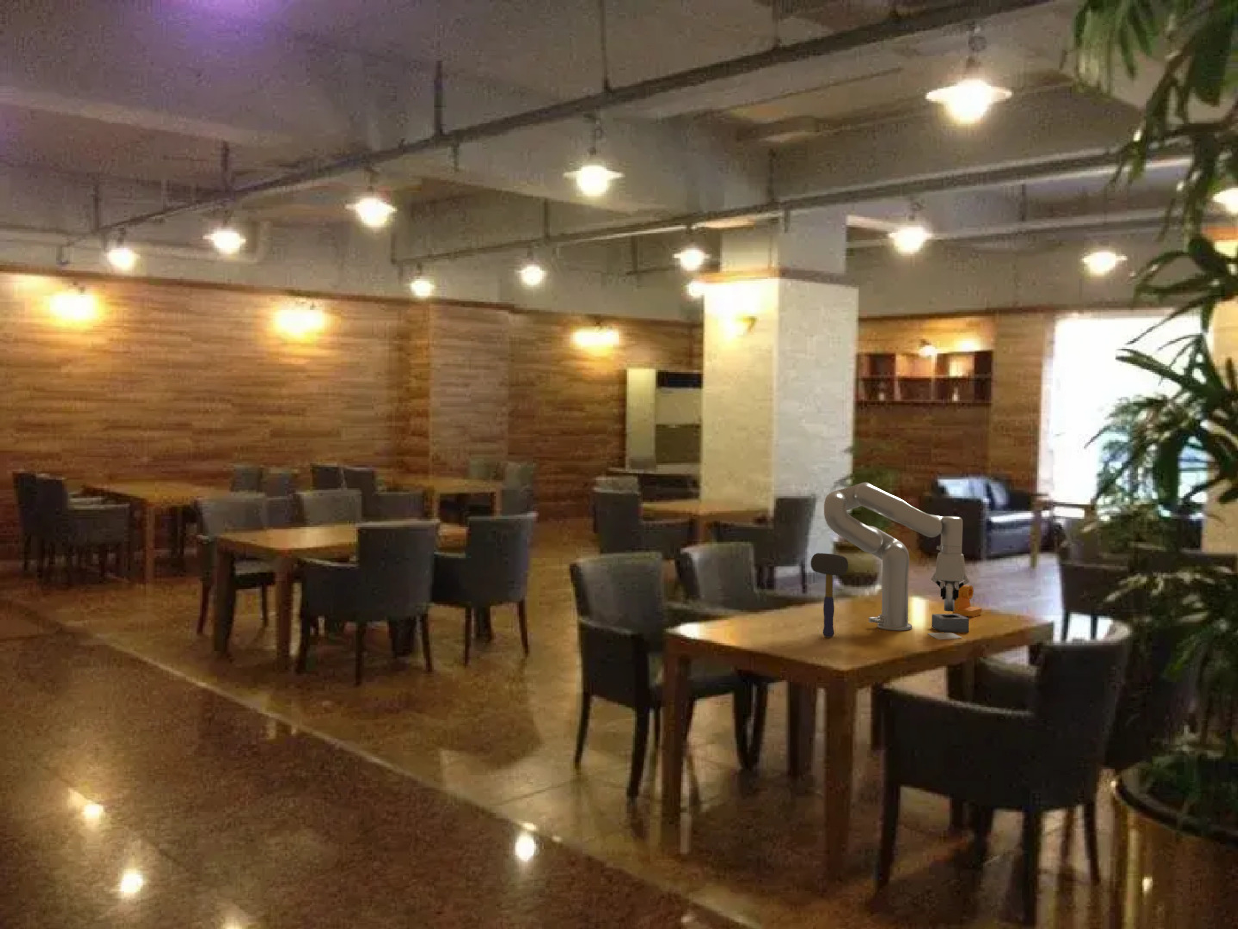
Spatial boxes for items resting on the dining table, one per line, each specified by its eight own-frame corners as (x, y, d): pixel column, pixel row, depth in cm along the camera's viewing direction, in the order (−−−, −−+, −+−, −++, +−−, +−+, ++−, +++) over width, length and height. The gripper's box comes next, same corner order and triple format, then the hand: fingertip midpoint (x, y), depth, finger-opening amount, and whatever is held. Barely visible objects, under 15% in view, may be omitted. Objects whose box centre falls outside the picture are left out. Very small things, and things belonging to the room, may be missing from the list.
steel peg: (954, 612, 422) (956, 575, 421) (941, 611, 424) (942, 574, 423) (956, 610, 426) (957, 574, 426) (943, 609, 428) (944, 573, 428)
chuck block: (942, 632, 420) (942, 619, 420) (931, 627, 430) (931, 614, 430) (968, 632, 421) (968, 618, 421) (957, 627, 431) (957, 613, 431)
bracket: (969, 618, 449) (970, 587, 449) (952, 616, 454) (952, 585, 454) (982, 614, 457) (982, 584, 456) (965, 612, 462) (965, 582, 461)
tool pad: (937, 639, 408) (937, 638, 408) (927, 634, 417) (927, 633, 417) (962, 639, 409) (962, 637, 409) (951, 634, 418) (951, 632, 418)
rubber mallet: (849, 638, 408) (850, 554, 407) (835, 641, 404) (836, 556, 402) (821, 633, 418) (822, 551, 416) (808, 636, 413) (808, 552, 411)
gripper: (926, 549, 424) (924, 599, 425) (973, 552, 417) (971, 603, 418) (929, 547, 431) (927, 596, 432) (975, 550, 424) (973, 600, 425)
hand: (949, 599), depth 425 cm, fingers closed on steel peg, 3 cm apart
